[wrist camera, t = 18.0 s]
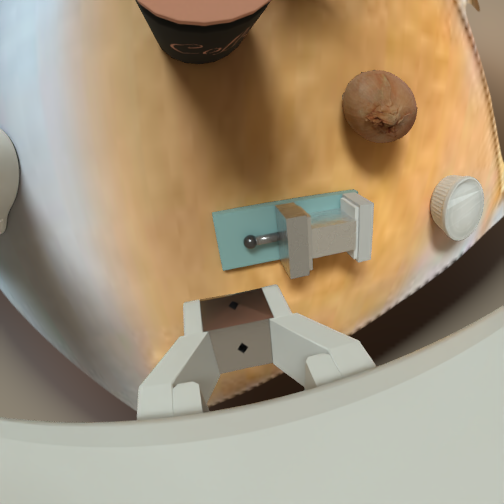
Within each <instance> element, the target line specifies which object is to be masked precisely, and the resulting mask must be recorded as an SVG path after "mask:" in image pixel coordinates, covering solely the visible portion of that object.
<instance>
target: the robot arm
mask: <svg viewBox="0 0 504 504" xmlns="http://www.w3.org/2000/svg"><path fill="white" fill-rule="evenodd" d="M18 184H19V165H18V159H17V155H16V151H15V149H14V146H13V144H12V142H11V140H10V138H9V137H8V136H7V134H6V133H5V132H4V131H3V130H2V129H0V234H2V233H3V232H4V231H5V229H6V225H7V215H8V212H9V210H10V208H11V206H12V205H13V202H14V200H15V197H16V194H17V190H18ZM183 313H184V336H180V337H179V338H178V339H177V341H176V342H175V343H174V344H173V346H172V347H171V348H170V349H169V351H168V352H167V353H166V354H165V355H164V357H163V358H162V359H161V360H160V362H159V363H158V364H157V365H156V367H155V368H154V369H153V370H152V372H151V373H150V374H149V375H148V377H147V378H146V379H145V380H144V381H143V383H142V384H141V385H140V386H139V391H138V406H137V420H136V421H118V422H50V421H34V420H22V419H12V418H4V417H0V504H504V305H503V306H502V307H500V308H498V309H497V310H495V311H493V312H491V313H490V314H488V315H486V316H484V317H483V318H481V319H479V320H478V321H476V322H474V323H472V324H470V325H468V326H467V327H464V328H463V329H461V330H459V331H457V332H455V333H453V334H451V335H449V336H447V337H445V338H443V339H441V340H439V341H437V342H435V343H432V344H430V345H428V346H426V347H424V348H421V349H419V350H417V351H415V352H412V353H410V354H408V355H405V356H403V357H401V358H398V359H396V360H393V361H391V362H388V363H386V364H383V365H380V366H378V367H376V365H375V364H374V362H373V361H372V359H371V358H370V356H369V355H368V353H367V352H366V350H365V349H364V348H363V346H362V345H361V343H360V342H359V341H358V340H356V339H354V338H351V337H349V336H347V335H345V334H342V333H340V332H338V331H336V330H334V329H331V328H329V327H327V326H325V325H322V324H320V323H318V322H316V321H314V320H312V319H309V318H307V317H305V316H303V315H301V314H299V313H294V314H292V312H291V310H290V308H289V306H288V304H287V302H286V300H285V298H284V296H283V294H282V293H281V291H280V289H279V287H278V285H276V284H275V285H271V286H266V287H262V288H259V289H255V290H250V291H245V292H241V293H236V294H229V295H223V296H217V297H212V298H206V299H200V300H194V301H188V302H184V304H183ZM269 363H273V364H274V365H275V366H277V367H278V368H279V369H281V370H282V371H283V372H285V373H286V374H288V375H289V376H290V377H292V378H293V379H294V380H296V381H297V382H298V383H300V384H301V385H303V386H304V387H305V390H304V391H301V392H298V393H294V394H290V395H287V396H283V397H279V398H275V399H271V400H267V401H262V402H258V403H253V404H248V405H243V406H239V407H233V408H229V409H223V410H217V411H211V412H209V409H208V407H207V402H208V400H209V398H210V396H211V394H212V391H213V389H214V387H215V385H216V383H217V381H218V379H219V377H220V374H222V373H226V372H231V371H235V370H240V369H244V368H249V367H254V366H259V365H264V364H269Z"/></svg>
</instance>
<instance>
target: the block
mask: <svg viewBox="0 0 504 504" xmlns="http://www.w3.org/2000/svg"><path fill="white" fill-rule="evenodd" d="M308 214H309V215H310V216H311V230H312V258H318V257H323V256H327V255H332V254H337V253H341V252H346V251H350V250H355V249H356V220H355V219H354V218H352V217H351V216H350V215H348V214H347V213H346V212H344V211H343V210H342V209H340V208H335V209H329V210H323V211H317V212H311V213H308Z"/></svg>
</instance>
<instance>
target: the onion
mask: <svg viewBox="0 0 504 504" xmlns="http://www.w3.org/2000/svg"><path fill="white" fill-rule="evenodd" d="M342 99H343V111H344V115H345V117H346V120H347V122H348V123H349V125H350V126H351V127H352V128H353V129H354V131H355V132H356V133H358V134H359V135H360V136H362V137H363V138H365V139H367V140H369V141H372V142H376V143H385V142H391V141H395V140H397V139H399V138H402V137H403V136H404V135H406V134H407V133H408V132H409V130H410V129H411V128H412V126H413V124H414V122H415V119H416V114H417V107H416V101H415V98H414V95H413V93H412V91H411V89H410V88H409V87H408V86H407V84H406V83H405V82H403V81H402V80H401V79H400V78H398V77H397V76H395V75H393V74H392V73H389V72H386V71H380V70H373V71H368V72H361V74H359V75H357V76H356V77H354V78H353V79H352V80H351V81H350V82H349V83H348V85H347V88H346V90H345V92H344V93H343V95H342Z"/></svg>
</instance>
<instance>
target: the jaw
mask: <svg viewBox="0 0 504 504" xmlns="http://www.w3.org/2000/svg"><path fill="white" fill-rule="evenodd" d="M275 212H276V222H277V232H275V233H269V234H264V235H259V236H253V235H247V236H246V237H245V238H244V240H243V244H244V246H245V247H246V248H248V249H253V248H255V247H256V245H262V244H267V243H272V242H277V241H278V244H279V255H280V261H281V263H282V265H283V267H284V268H285V270H286V272H287V274H288V276H289V277H290V279H293V278H298V277H303V276H307V275H309V270H313V258H312V230H311V216H310V215H309V214H308V213H307V212H306V211H305V210H304V209H303V208H302V207H301V206H299V205H298V206H297V205H296V204H295V203H294V202H292V203H286V204H280V205H275Z"/></svg>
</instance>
